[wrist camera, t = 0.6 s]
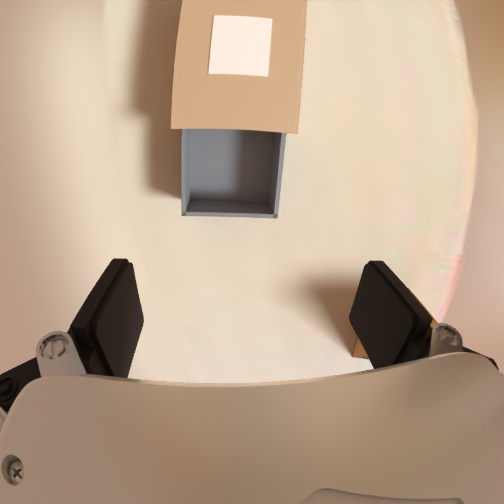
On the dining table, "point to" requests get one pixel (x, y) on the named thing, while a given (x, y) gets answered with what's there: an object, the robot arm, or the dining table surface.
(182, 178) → the tray
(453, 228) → the dining table surface
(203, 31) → the mailer sleeve
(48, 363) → the robot arm
